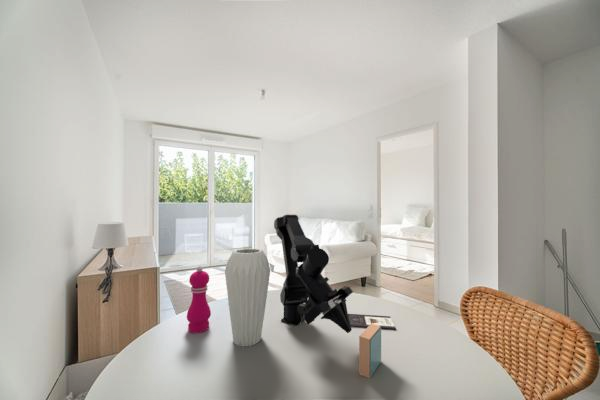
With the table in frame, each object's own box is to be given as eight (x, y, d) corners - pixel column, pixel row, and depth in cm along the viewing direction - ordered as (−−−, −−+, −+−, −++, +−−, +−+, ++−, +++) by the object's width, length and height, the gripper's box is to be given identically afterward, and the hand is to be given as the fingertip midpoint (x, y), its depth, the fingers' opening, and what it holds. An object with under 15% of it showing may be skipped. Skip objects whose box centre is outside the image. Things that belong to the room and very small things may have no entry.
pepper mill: (191, 336, 78) (192, 270, 78) (183, 327, 83) (184, 266, 84) (214, 329, 83) (215, 266, 83) (205, 321, 88) (206, 262, 88)
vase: (215, 339, 76) (216, 250, 77) (252, 324, 86) (253, 245, 86) (239, 358, 67) (240, 257, 67) (278, 339, 76) (279, 251, 77)
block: (359, 374, 61) (359, 336, 61) (371, 357, 68) (371, 323, 68) (370, 378, 60) (370, 339, 60) (381, 361, 66) (381, 326, 66)
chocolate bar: (339, 313, 94) (390, 316, 92) (339, 315, 94) (390, 319, 92) (339, 324, 85) (395, 328, 83) (339, 327, 85) (395, 331, 83)
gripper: (314, 289, 84) (345, 332, 78) (277, 307, 69) (312, 363, 63) (336, 268, 80) (370, 313, 73) (302, 283, 65) (341, 341, 58)
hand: (349, 331), depth 67 cm, fingers closed
